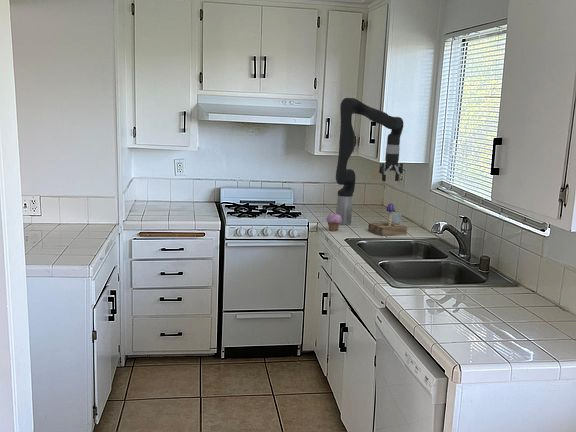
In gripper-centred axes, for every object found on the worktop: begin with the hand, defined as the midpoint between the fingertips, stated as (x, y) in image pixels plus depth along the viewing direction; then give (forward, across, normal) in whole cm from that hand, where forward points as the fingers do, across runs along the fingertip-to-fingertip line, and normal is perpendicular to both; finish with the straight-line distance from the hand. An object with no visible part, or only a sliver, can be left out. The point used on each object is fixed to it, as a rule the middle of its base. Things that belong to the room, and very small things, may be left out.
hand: (390, 181), depth 333 cm
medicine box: (+30, -13, -11) cm, 34 cm away
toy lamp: (+30, 0, +2) cm, 30 cm away
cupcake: (+30, +29, -10) cm, 43 cm away
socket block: (+30, +1, +2) cm, 30 cm away
